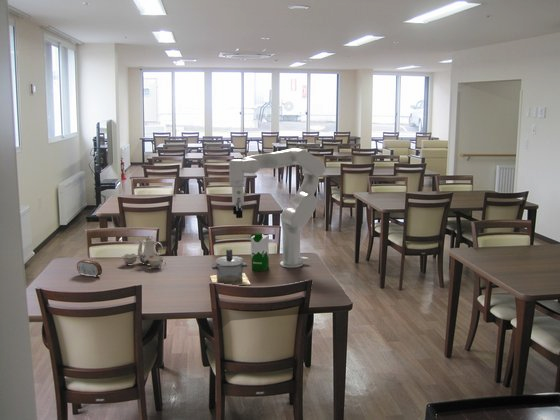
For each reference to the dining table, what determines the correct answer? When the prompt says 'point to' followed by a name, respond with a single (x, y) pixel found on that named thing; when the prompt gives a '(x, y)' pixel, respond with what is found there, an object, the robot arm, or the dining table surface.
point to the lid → (229, 259)
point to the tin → (89, 267)
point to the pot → (230, 274)
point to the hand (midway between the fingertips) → (237, 216)
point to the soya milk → (260, 252)
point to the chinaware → (146, 254)
